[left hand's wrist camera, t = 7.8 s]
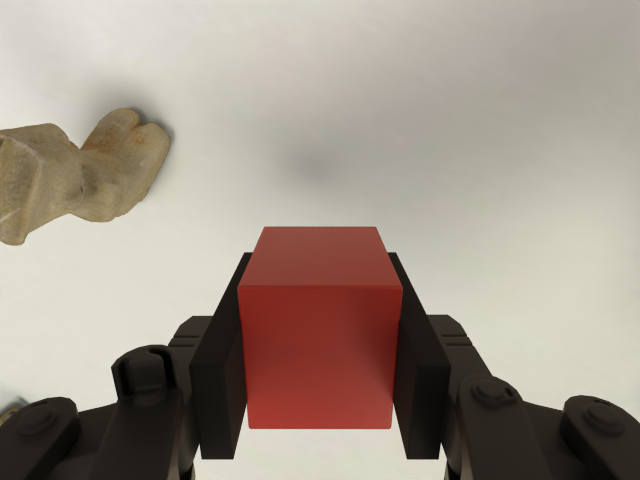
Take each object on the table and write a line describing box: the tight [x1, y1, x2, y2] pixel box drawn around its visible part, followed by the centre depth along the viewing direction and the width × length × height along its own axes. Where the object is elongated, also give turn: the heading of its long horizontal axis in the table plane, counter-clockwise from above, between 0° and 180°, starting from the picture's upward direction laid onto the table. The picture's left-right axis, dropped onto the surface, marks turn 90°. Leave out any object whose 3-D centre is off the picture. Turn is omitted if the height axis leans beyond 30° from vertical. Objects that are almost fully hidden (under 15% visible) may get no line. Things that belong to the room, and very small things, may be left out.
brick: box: [238, 227, 403, 429], centre depth 13 cm, size 4×5×5 cm
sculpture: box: [0, 108, 170, 246], centre depth 24 cm, size 6×7×15 cm
